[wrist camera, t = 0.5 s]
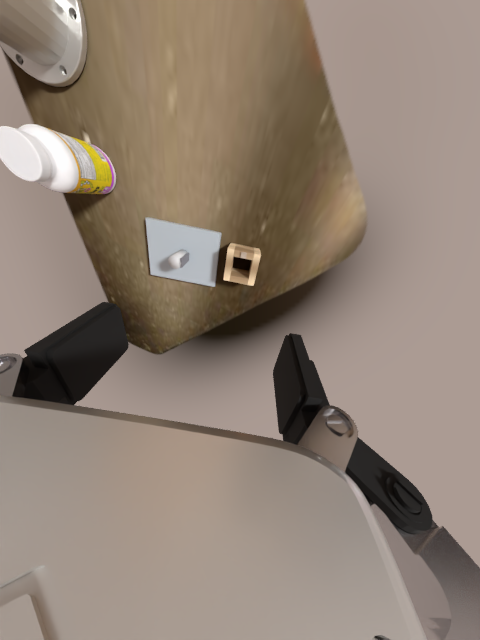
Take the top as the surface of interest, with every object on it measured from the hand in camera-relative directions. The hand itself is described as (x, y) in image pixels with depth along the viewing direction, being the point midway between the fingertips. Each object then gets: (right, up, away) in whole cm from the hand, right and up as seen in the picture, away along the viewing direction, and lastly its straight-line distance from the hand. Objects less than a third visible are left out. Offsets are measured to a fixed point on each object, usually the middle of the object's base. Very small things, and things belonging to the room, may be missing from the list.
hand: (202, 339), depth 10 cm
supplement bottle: (-22, +27, +21) cm, 40 cm away
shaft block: (-9, +15, +27) cm, 33 cm away
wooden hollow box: (+3, +14, +28) cm, 31 cm away
